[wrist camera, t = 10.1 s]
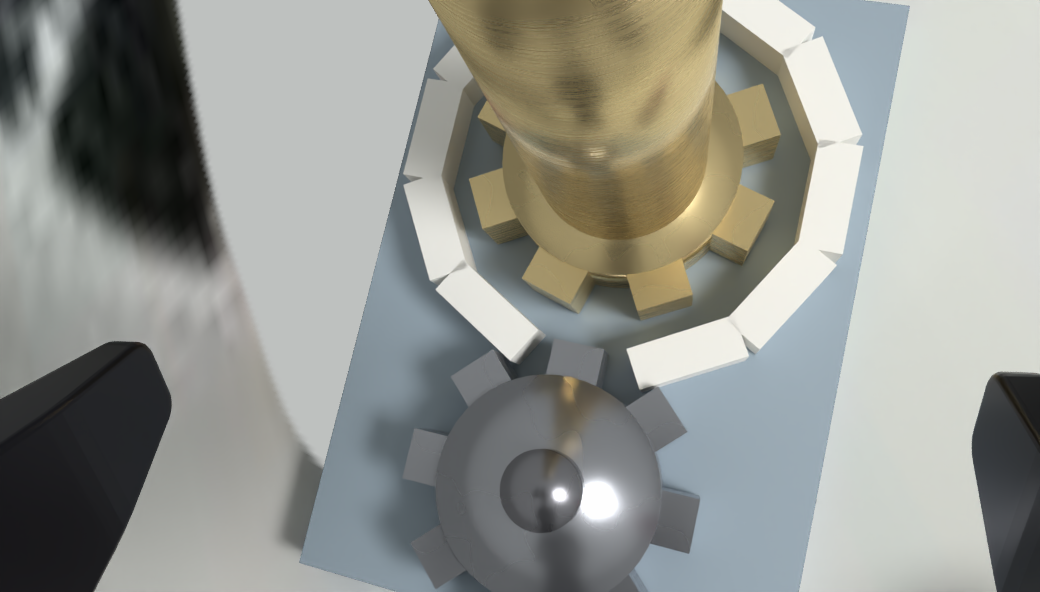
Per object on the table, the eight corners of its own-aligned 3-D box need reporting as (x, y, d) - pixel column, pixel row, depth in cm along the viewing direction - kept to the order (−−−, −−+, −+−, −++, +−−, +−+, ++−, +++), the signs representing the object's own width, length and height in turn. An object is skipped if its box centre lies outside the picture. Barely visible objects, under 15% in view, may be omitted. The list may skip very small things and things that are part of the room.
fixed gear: (664, 666, 20) (661, 696, 18) (394, 586, 22) (358, 604, 19) (722, 380, 21) (727, 372, 19) (458, 322, 22) (431, 308, 20)
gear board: (773, 691, 20) (783, 721, 18) (315, 557, 23) (277, 569, 21) (899, 24, 22) (922, -20, 20) (464, -30, 25) (444, -74, 23)
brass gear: (810, 271, 21) (1009, 30, 8) (528, 354, 22) (318, 250, 9) (720, 9, 22) (771, -541, 10) (458, 97, 23) (194, -297, 11)
